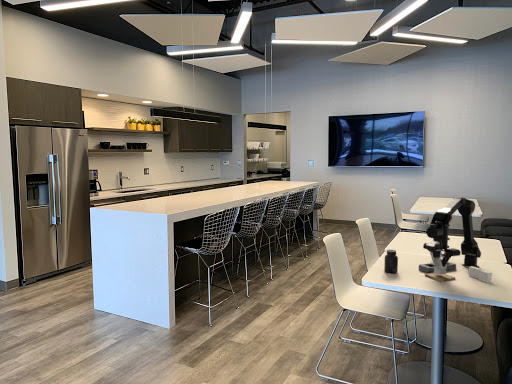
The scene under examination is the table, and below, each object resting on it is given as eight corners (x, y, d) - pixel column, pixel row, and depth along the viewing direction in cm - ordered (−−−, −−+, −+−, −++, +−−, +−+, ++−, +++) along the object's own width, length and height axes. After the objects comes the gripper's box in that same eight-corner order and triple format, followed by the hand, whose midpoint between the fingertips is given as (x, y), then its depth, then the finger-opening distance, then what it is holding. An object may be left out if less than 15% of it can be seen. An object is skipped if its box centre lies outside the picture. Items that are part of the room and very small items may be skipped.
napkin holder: (463, 274, 203) (463, 264, 203) (487, 276, 200) (487, 266, 200) (470, 283, 189) (471, 272, 188) (496, 285, 186) (497, 274, 185)
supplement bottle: (382, 270, 209) (382, 249, 208) (394, 270, 210) (394, 248, 209) (387, 274, 203) (388, 252, 202) (399, 274, 203) (400, 252, 202)
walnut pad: (439, 273, 203) (439, 272, 203) (455, 279, 194) (455, 277, 194) (425, 276, 200) (425, 274, 200) (440, 281, 190) (440, 279, 190)
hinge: (442, 265, 220) (437, 248, 221) (434, 266, 222) (428, 250, 223) (445, 258, 234) (440, 242, 235) (437, 260, 237) (432, 244, 237)
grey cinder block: (445, 266, 218) (445, 261, 217) (456, 269, 211) (456, 264, 211) (418, 270, 210) (418, 264, 210) (428, 273, 204) (428, 268, 203)
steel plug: (439, 271, 199) (440, 256, 198) (446, 273, 195) (446, 258, 195) (434, 272, 198) (434, 257, 197) (440, 274, 194) (441, 259, 193)
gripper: (415, 233, 200) (414, 262, 202) (445, 240, 183) (443, 272, 185) (431, 231, 205) (430, 260, 206) (461, 238, 187) (460, 269, 189)
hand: (440, 265), depth 196 cm, fingers closed on steel plug, 4 cm apart
